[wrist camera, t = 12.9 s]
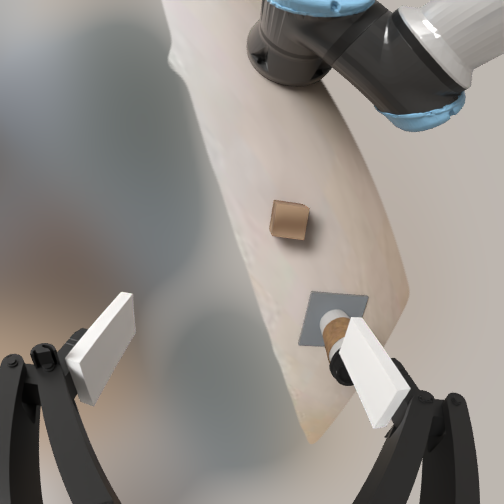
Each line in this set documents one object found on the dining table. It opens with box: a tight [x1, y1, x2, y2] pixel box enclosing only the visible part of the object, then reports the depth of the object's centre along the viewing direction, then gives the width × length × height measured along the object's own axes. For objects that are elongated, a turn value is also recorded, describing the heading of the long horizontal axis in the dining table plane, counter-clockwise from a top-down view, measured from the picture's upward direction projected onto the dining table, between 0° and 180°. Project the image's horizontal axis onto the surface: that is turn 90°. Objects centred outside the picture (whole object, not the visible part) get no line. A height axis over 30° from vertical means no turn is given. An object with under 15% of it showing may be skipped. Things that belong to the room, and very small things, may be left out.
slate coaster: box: [298, 291, 368, 346], centre depth 51 cm, size 12×12×1 cm
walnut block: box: [269, 200, 310, 240], centre depth 43 cm, size 5×5×5 cm
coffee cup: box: [320, 309, 354, 386], centre depth 44 cm, size 8×8×15 cm
